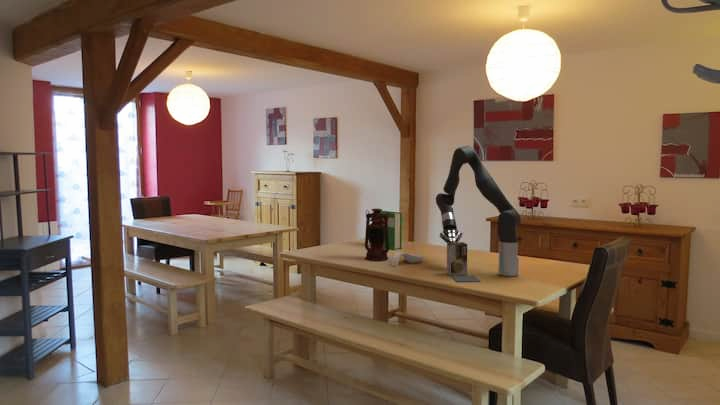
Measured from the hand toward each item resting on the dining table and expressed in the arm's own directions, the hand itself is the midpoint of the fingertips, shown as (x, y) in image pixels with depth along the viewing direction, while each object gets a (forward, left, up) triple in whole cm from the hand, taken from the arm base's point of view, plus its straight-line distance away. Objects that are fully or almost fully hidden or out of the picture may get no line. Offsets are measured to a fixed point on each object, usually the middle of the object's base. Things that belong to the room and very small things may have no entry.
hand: (453, 248), depth 266 cm
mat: (-2, +20, -12) cm, 23 cm away
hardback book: (+29, -67, -12) cm, 74 cm away
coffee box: (0, +9, -12) cm, 15 cm away
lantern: (+39, -30, -12) cm, 51 cm away
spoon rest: (+22, -18, -12) cm, 31 cm away
